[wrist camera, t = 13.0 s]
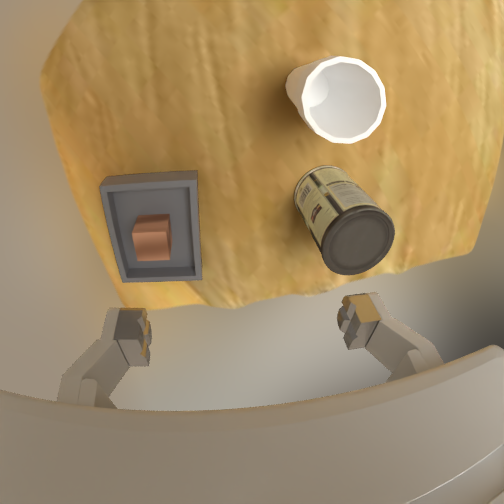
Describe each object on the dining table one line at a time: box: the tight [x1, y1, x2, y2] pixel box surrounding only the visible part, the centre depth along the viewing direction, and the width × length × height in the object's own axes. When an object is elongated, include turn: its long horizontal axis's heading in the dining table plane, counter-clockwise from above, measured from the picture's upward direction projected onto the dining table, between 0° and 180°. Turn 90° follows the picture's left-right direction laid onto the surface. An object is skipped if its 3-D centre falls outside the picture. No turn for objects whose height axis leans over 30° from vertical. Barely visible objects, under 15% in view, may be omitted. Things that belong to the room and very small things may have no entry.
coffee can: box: [294, 166, 395, 275], centre depth 41 cm, size 10×10×14 cm
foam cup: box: [285, 56, 386, 144], centre depth 31 cm, size 10×9×13 cm
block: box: [132, 214, 172, 261], centre depth 43 cm, size 5×5×5 cm
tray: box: [99, 170, 202, 283], centre depth 45 cm, size 18×14×4 cm
